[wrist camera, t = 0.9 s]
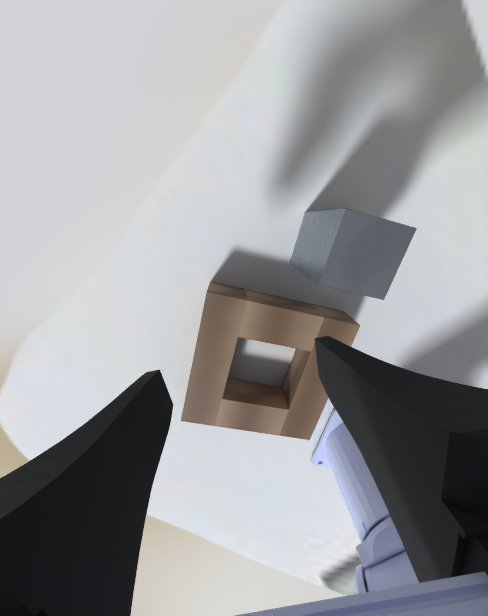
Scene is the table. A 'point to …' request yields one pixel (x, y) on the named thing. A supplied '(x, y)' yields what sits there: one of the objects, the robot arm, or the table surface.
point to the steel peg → (351, 250)
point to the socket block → (271, 329)
